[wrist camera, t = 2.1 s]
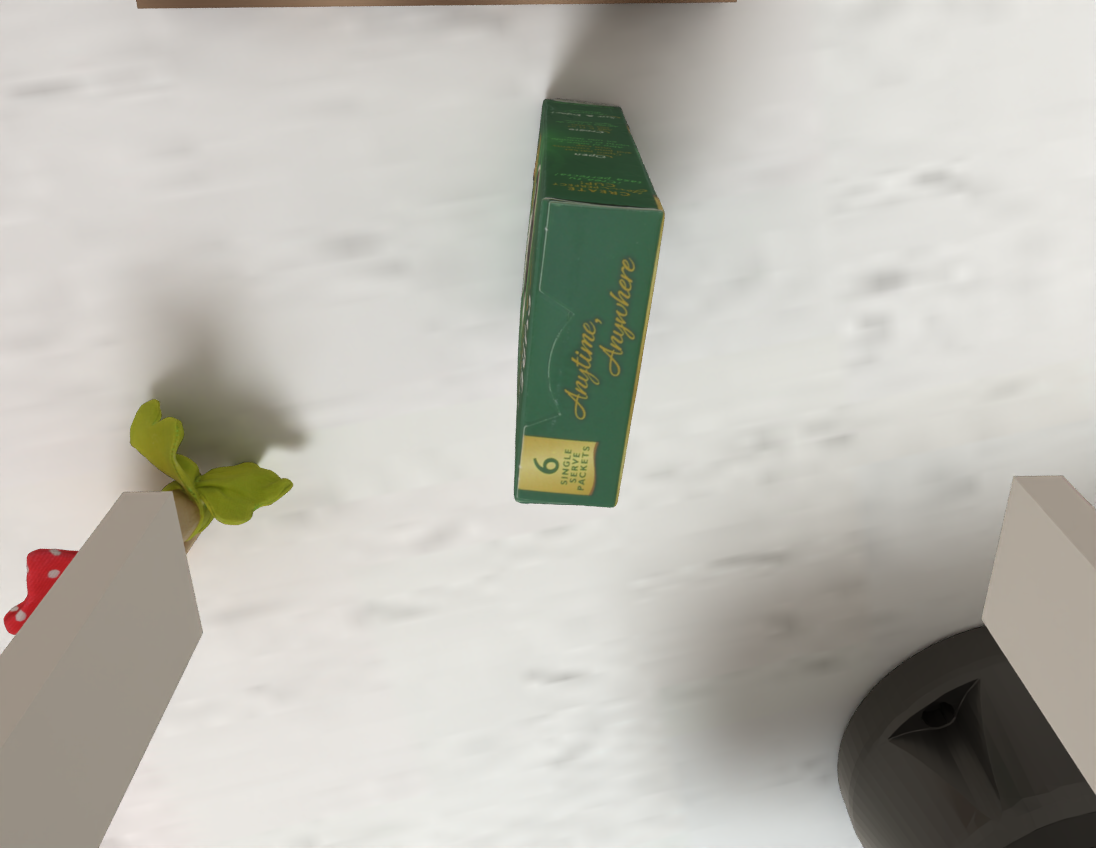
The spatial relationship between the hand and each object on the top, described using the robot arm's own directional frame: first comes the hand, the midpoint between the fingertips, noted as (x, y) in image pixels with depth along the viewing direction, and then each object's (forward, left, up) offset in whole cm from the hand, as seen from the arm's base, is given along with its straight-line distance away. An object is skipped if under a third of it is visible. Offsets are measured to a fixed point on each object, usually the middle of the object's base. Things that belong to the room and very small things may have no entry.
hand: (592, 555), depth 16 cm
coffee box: (0, 0, -21) cm, 21 cm away
